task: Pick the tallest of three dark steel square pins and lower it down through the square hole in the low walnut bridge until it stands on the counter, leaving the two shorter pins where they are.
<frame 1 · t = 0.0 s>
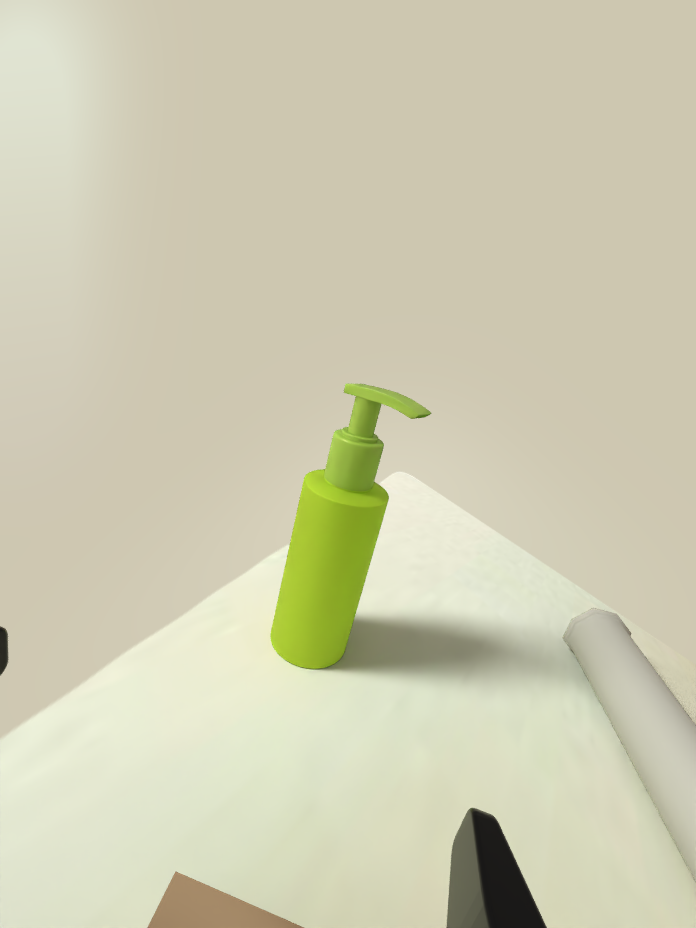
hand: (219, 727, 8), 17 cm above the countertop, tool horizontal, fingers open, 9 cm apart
tube: (660, 794, 29), on the countertop
soap dispenser: (312, 644, 34), on the countertop
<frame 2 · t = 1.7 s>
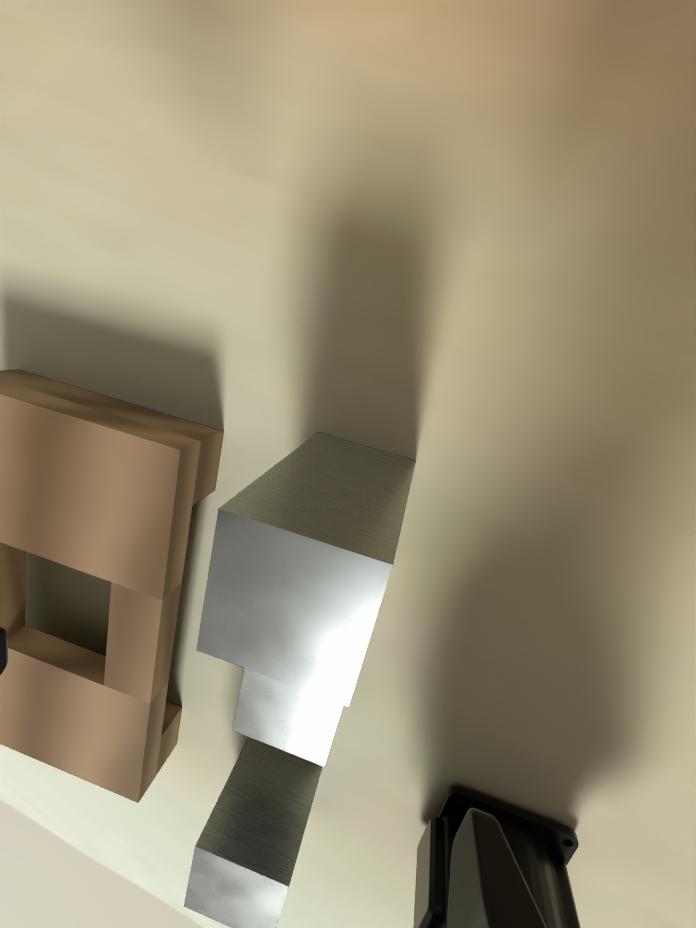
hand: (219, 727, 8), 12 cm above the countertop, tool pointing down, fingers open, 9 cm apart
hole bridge: (105, 576, 24), on the countertop
medium pin: (280, 772, 25), on the countertop
short pin: (313, 648, 22), on the countertop
long pin: (354, 492, 20), on the countertop
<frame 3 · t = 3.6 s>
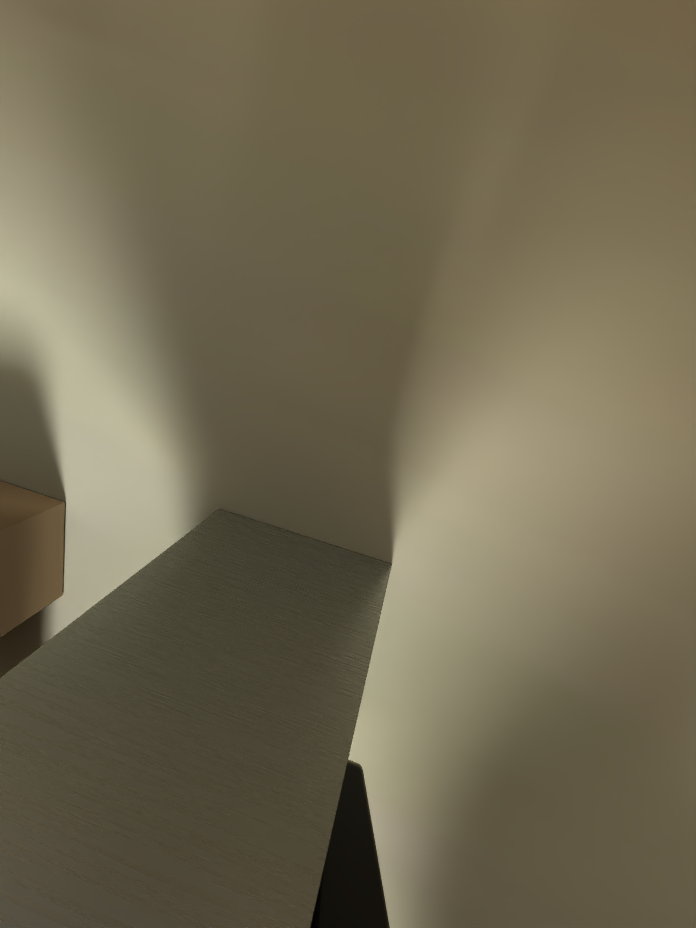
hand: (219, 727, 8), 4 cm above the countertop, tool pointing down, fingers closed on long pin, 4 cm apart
long pin: (286, 610, 11), on the countertop, touching gripper
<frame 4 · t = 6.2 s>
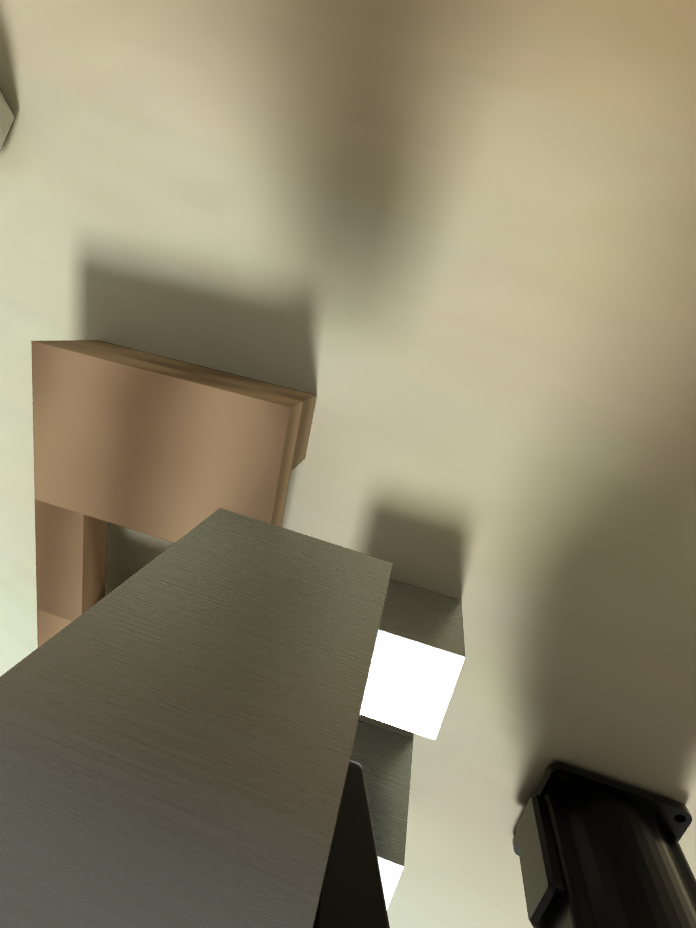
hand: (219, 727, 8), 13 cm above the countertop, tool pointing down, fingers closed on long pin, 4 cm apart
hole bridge: (183, 555, 23), on the countertop
medium pin: (364, 754, 24), on the countertop
short pin: (404, 622, 22), on the countertop
long pin: (287, 609, 11), point 9 cm above the countertop, touching gripper
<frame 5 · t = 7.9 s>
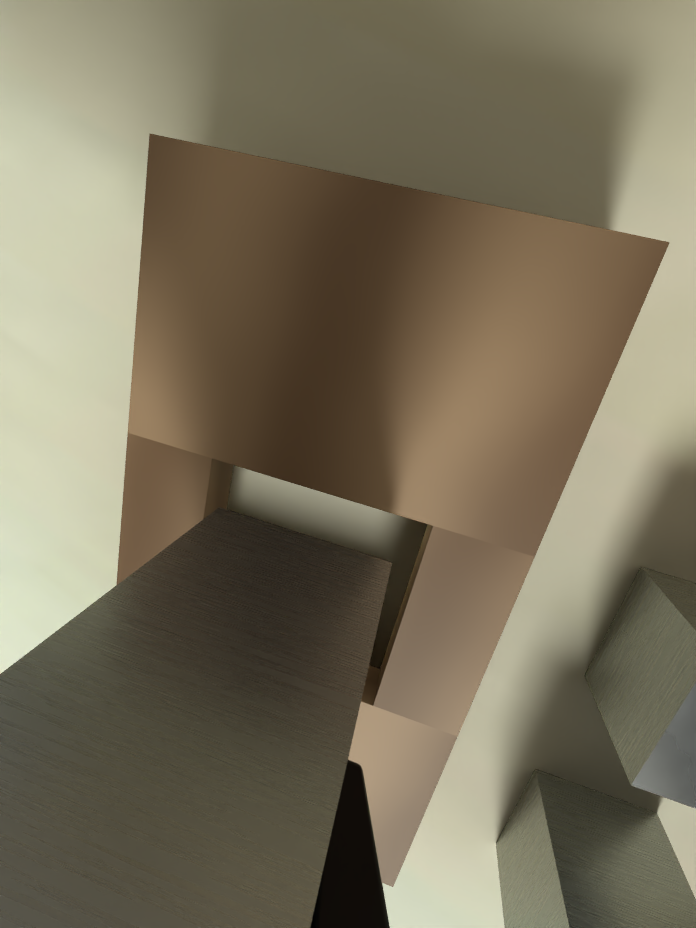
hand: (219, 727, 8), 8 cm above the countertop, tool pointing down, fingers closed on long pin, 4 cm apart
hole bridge: (327, 534, 15), on the countertop
medium pin: (571, 828, 17), on the countertop
short pin: (680, 643, 14), on the countertop
long pin: (286, 608, 11), point 5 cm above the countertop, touching gripper
when the fingers open (5 cm above the countertop, at t = 9.2 s): long pin drops 1 cm, on the countertop.
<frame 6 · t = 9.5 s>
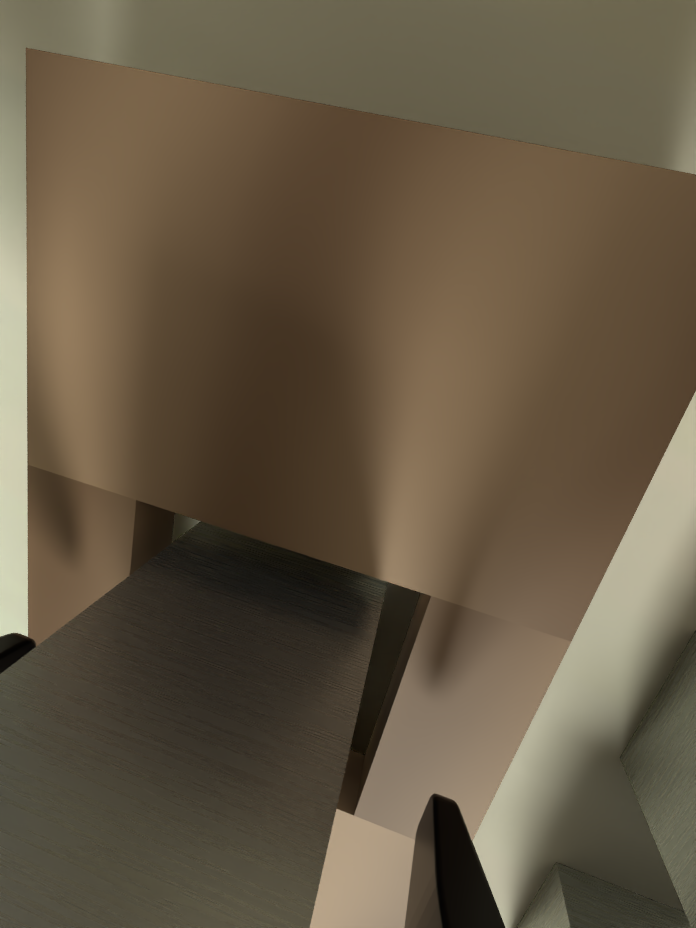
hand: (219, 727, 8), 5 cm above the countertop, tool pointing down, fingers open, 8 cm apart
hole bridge: (301, 580, 13), on the countertop
long pin: (303, 578, 13), on the countertop
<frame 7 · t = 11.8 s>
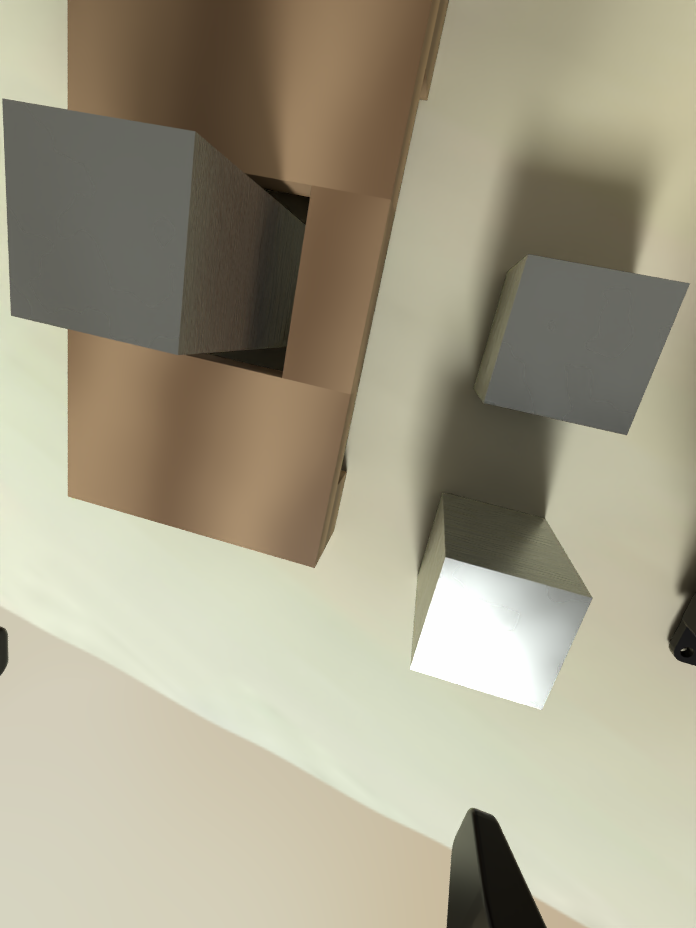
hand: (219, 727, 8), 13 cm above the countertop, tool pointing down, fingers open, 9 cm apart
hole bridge: (252, 282, 18), on the countertop
medium pin: (478, 548, 20), on the countertop
short pin: (546, 344, 17), on the countertop
long pin: (254, 280, 18), on the countertop
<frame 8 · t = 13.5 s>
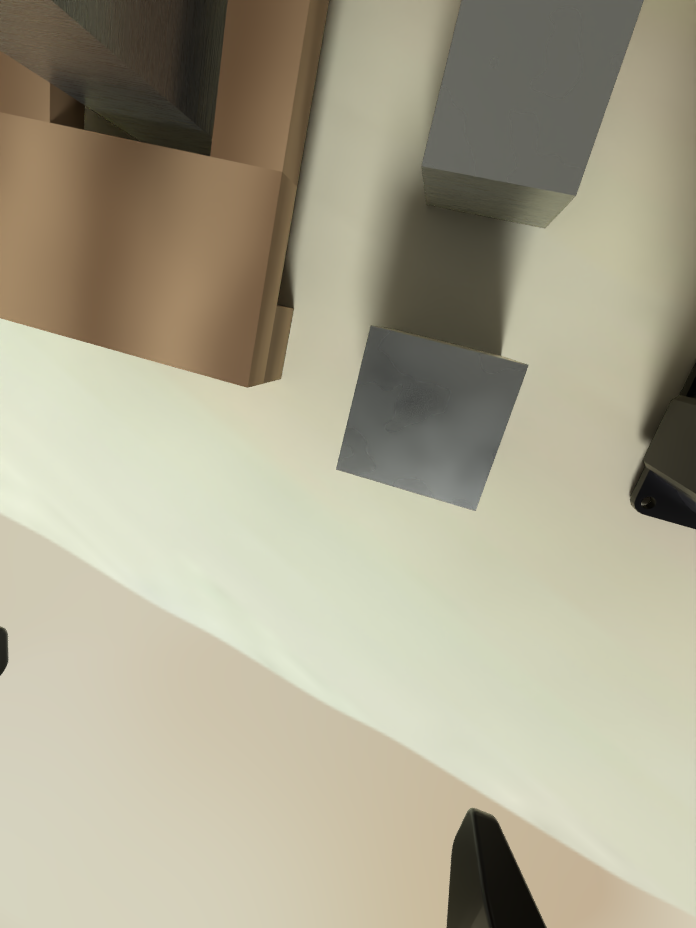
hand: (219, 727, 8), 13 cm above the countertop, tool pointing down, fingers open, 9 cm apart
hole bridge: (194, 87, 17), on the countertop
medium pin: (430, 395, 18), on the countertop
short pin: (504, 148, 15), on the countertop
long pin: (196, 86, 17), on the countertop
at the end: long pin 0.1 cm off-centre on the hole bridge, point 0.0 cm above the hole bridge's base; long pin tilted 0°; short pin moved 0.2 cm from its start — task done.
